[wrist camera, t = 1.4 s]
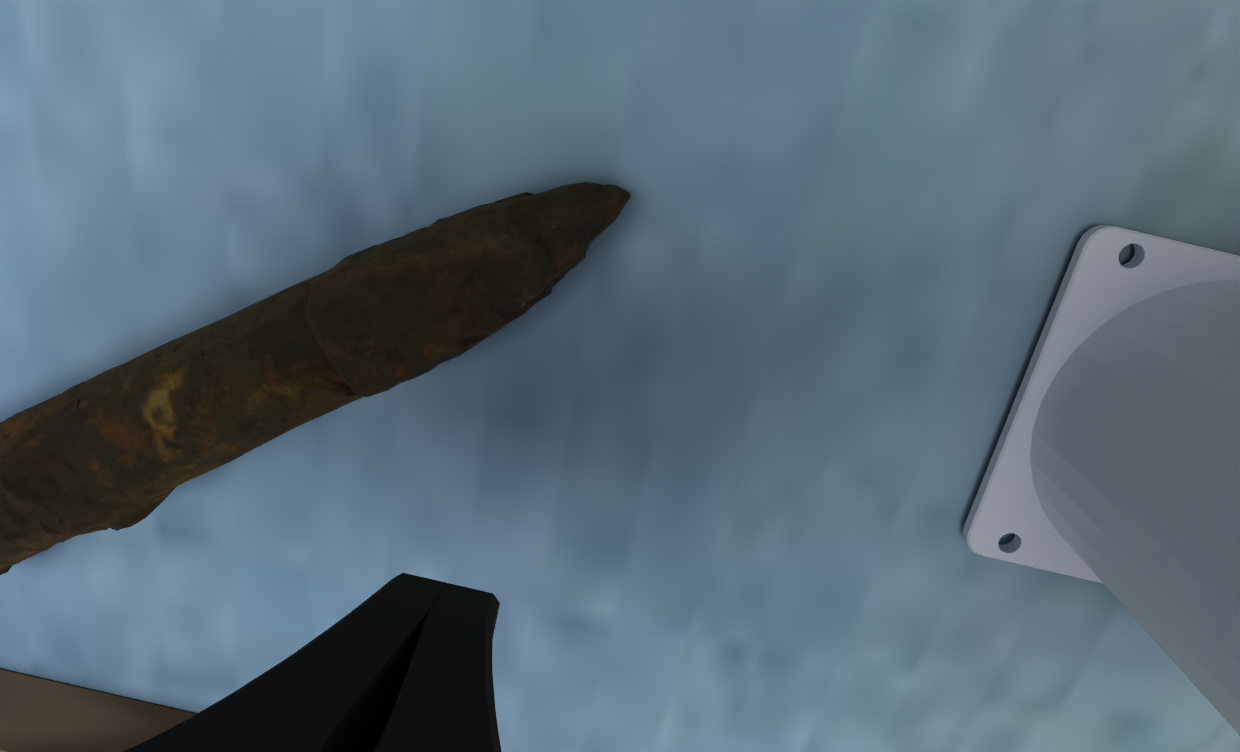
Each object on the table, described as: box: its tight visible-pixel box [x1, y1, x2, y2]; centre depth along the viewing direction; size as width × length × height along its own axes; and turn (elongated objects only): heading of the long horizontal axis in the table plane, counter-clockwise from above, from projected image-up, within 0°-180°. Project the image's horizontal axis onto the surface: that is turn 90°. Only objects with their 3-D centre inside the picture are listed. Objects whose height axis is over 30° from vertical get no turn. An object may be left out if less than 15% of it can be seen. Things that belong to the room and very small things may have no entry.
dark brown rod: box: [0, 182, 630, 575], centre depth 18 cm, size 19×4×5 cm, turn 113°
